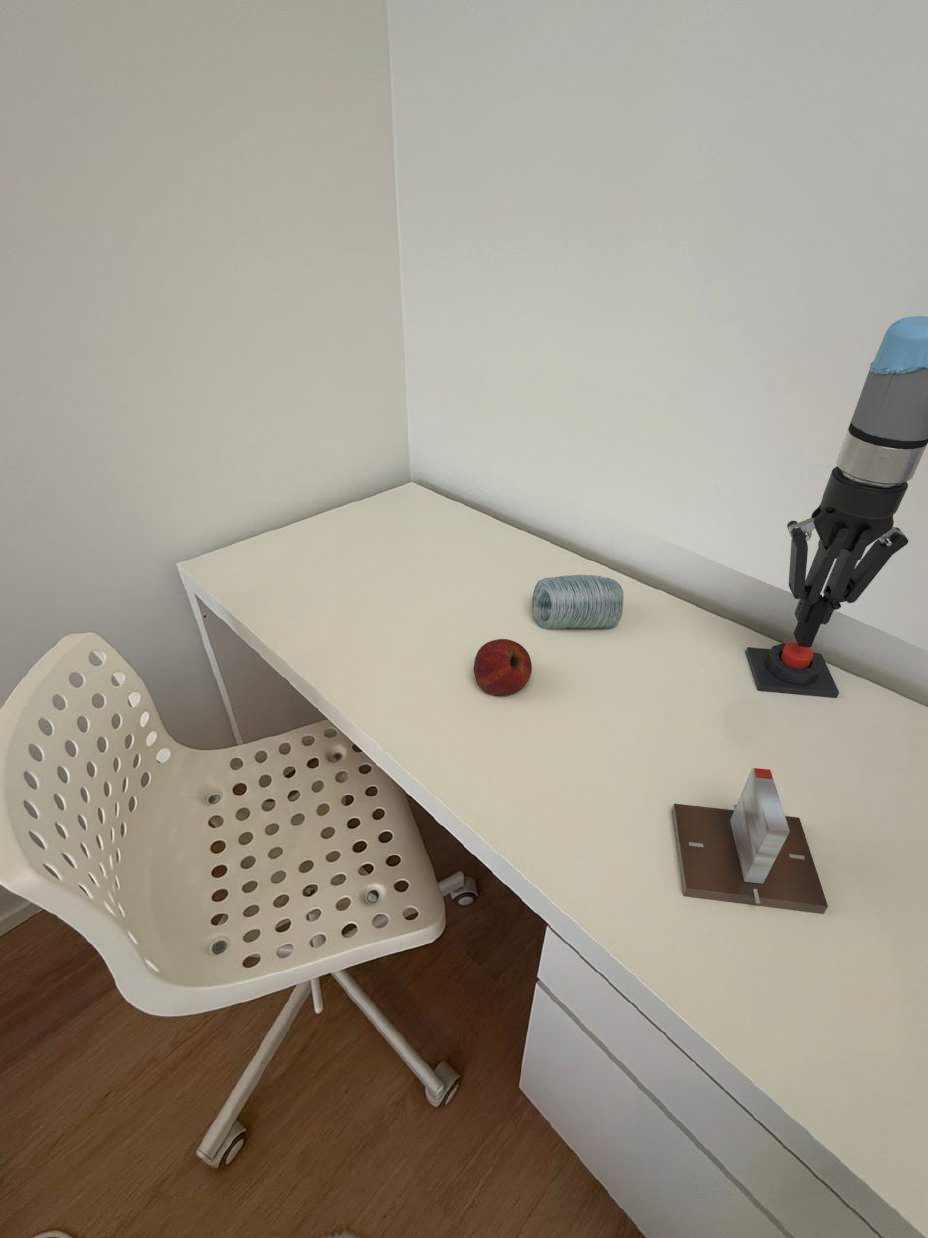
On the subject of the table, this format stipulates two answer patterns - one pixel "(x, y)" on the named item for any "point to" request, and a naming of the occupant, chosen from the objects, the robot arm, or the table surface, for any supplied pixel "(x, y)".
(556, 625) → the spool
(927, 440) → the robot arm
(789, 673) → the switch block
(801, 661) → the button
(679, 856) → the base
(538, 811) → the table surface
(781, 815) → the tap handle
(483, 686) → the apple
